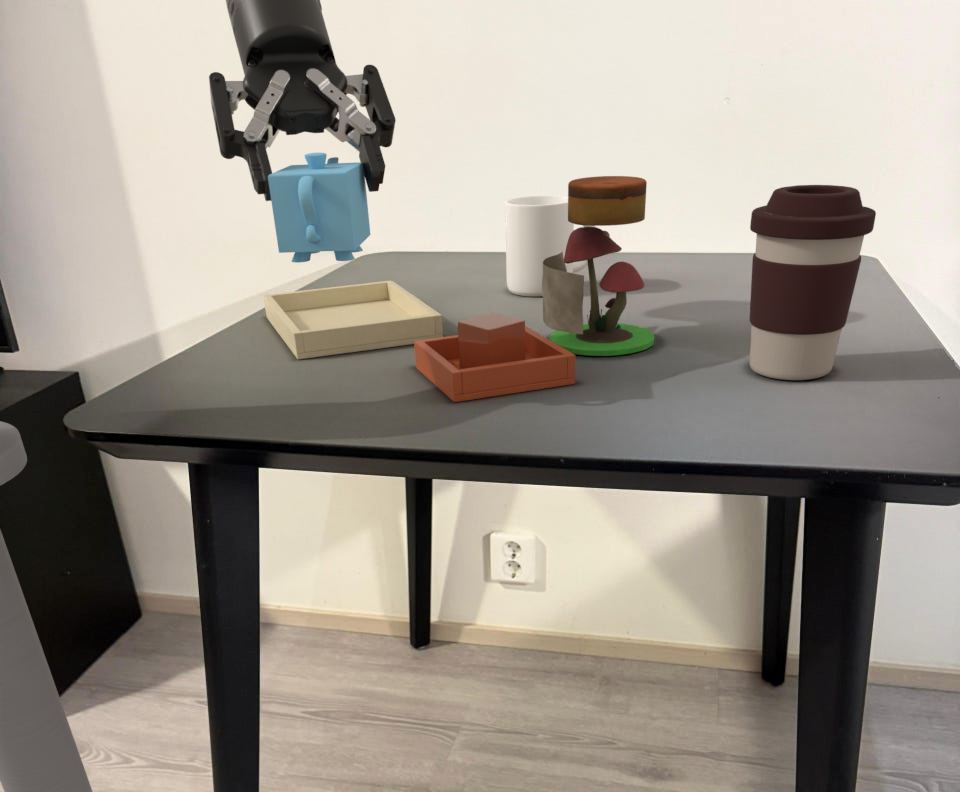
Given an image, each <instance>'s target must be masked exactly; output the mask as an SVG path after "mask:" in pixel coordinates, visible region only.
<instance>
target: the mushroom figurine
mask: <svg viewBox="0 0 960 792" xmlns="http://www.w3.org/2000/svg"><path fill="white" fill-rule="evenodd" d="M647 186H648V185H647V180H646V179H645V178H642V177H638V176H628V175H627V176H626V175H604V176H603V175H602V176H601V175H599V176H588V177H587V176H586V177H580V178H575V179H572V180H570V181H569V182H568V184H567V197H568V221H569V222H570V223H573V224H574V225H577V226H580V227H578V228H576V229H574V231H573V232H572V233H571V234H570V236H569V239H568V242H567V246H566V251H565V256H564V258H563V251H562V252H561V253H560V254H558V255H554V256H551V257H548V258H546V259H545V260H544V261H543V277H542V293H543V296H542V321H543V323H544V325H545V326H546V327H548V328H550V329H552V330H555V331H553V332H552V333H551V335H550V336H549V340H550V341H552V342H554V343H555V344H557V345H559V346H561V347H562V348H564V349H566V350H567V351H569V352H571V353H573V354H574V355H580V356H592V357H610V356H613V357H614V356H624V355H629V354H635V353H639V352H642V351H645V350H647V349H649V348H650V347H651V348H652V346H653V345H654V344H655V333H654V332H653V331H651V330H650V329H648V328H645V327H641V326H639V325H633V324H627V323H619V320H620V317H621V316H622V314H623V312H624V311H625V309H626V306H627V304H628V303H627V302H628V301H627V298H628V297H627V293H628V292H634V291H635V292H636V291H639V290H642V289H644V288H645V282H644V280H643V278H642V276H641V275H640V273H639V272H638V270H637V269H636V267H635V266H634V265H633V264H631V263H629V262H626V261H616V262H615V263H613V264H611V265H610V266H609V267H608V268H607V270H606V271H605V273H604V274H603V276H602V278H601V279H600V281H599V283H597V276H596V268H595V262H594V259H597V258H600V257H603V256H608V255H610V254H614V253H620V252H621V251H622V250H623V249H622V246H620V245H619V244H617V243H616V241H614V240H613V239H612V238H611V235H610V233H609V232H608V231H607V230H603V229H601V228H600V227H603V226H605V227H606V226H609V227H611V226H623V225H624V226H625V225H631V224H636V223H641V222H642V221H644V220H645V218H646V202H647ZM583 225H585V226H595V227H583ZM599 226H600V227H599ZM585 260H587V262H588V265H587V270H588V280H589V292H590V293H589V294H590V310H589V314H587V315H586V317H587V323H584V314H583V313H584V312H583V311H584V309H583V305H584V295H585V275H582V274H578V273H569V272H567V269H566V265H565V263H567V264H569V263H573V262H579V261H585ZM598 286H599V287H600V289H601V290H602V291H605V292H609V293H612V294H615V297H612V298H610V299H609V300H607V302H606V303H605V305H604V307H605V308H607V309H608V310H606V311H605V313H604V314H603V309H602V308H600V301H599V300H600V299H599V291H598Z"/></svg>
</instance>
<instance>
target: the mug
mask: <svg viewBox="0 0 960 792" xmlns="http://www.w3.org/2000/svg"><path fill="white" fill-rule="evenodd" d="M504 214H505V218H504V219H505V221H504V222H505V263H506V264H505V267H506V268H505V269H506V270H505V271H506V273H505V274H506V286H507V289H508V291H509V292H510V293H511V294H513V295H517V296H522V297H531V298H532V297H533V298H536V297H537V298H538V297H539V298H540V297H542V298H543V293H542V277H543V261H544V260H545V259H546V258H548V257H551V256H554V255H558V254H560V253H561V252H562V251H563V258H564V256H565V251H566V246H567V242H568V239H569V236H570V234H571V233H572V232H573V231H574V230H575V228H574V227H575V226H574V225H575V224H573V223H570V222H569V221H568V196H564V195H563V196H562V195H527V196H526V195H525V196H518V197H513V198H510V199H507V200H505V202H504ZM582 227H596V226H585V225H582ZM565 265H566V269H567V272H569V273H574V274H576V273H577V272H578V273H579V272H580V271H582V270H584V269H585V268H587V267H588V262H587V260H585V261H579V262H573V263H569V264H567V263H565Z"/></svg>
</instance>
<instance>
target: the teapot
mask: <svg viewBox="0 0 960 792" xmlns="http://www.w3.org/2000/svg"><path fill="white" fill-rule="evenodd" d="M303 156H304V159H305V161H306V163H307V164H291V165H288V166H285V167H282V168H281V169H279V170H277V171H274V172H272V174H270V175H268V182H269V189H270V195H271V201H270V202H271V208H272V216H273V222H274V229H275V236H276V241H277V248H278V249H277V250H278V253H279V254H280V253H281V254H283V253H284V254H285V253H287V254H288V253H294V254H293V257H292V259H291V263H297V264H298V263H307V262H309V261H311V258H312V257H311V256H312V254H313V255H314V254H318V253H320V252H333V254H334V257H335V261H337V262H348V261H354V260H355V256H354V254H353V253H360V252H363V251H364V249H363V248H362V246H361V245H362V244H363V243H364V242H365V241H366V240H367V239H368V238H369V237H370V236H371V228H370V227H371V225H370V215H369V206H368V196H367V183H366V179H365V175H364V165H363V163H362V162H339V157H337V156H334V157H333V156H332V157H329V158H328V159H327V157H328V156H327V153H325V152H309V153H306V154H304V155H303ZM326 162H327V163H326Z"/></svg>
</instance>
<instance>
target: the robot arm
mask: <svg viewBox="0 0 960 792" xmlns="http://www.w3.org/2000/svg"><path fill="white" fill-rule="evenodd" d="M225 5H226V9H227V13H228V17H229V21H230V25H231V29H232V33H233V36H234V40H235V44H236V48H237V51H238V55H239V59H240V63H241V66H242V70H243V74H244V77H243V80H226V78H225V75H224V74H222V73H221V72H218V71H213V72H210V74H209V76H208V81H209V82H208V83H209V96H210V104H211V111H212V116H213V120H214V121H213V122H214V127H215V130H216V131H215V132H216V137H217V142H218V148H219V153H220V155H221V157H223V158H224V159H226V160H232V159H234V158H235V157H239V158H242V159H243V160H245V162H246V163H247V166H248V169H249V174H250V178H251V182H252V186H253V190H254V191H255V192H256V193H257V195H263V197H264V200H265V202H271V195H270V189H269V182H268V175H270V174H272V173H273V171H272V167H271V163H270V159H269V156H268V155H269V154H268V152H267V148H271V147H272V145H273V143H274V141H275V140H276V138H277V137H278V135H279V133H280V132H284V133H285V135H286V136H294V135H295V136H296V135H299V134H302V133H312V134H323V133H325V130H326V131H327V132H329V133H330V134H331V136H333V137H334V138H336V140H338V141H339V142H341V143H345V142H346V143H348V144H349V145H350V146H351V147H352V148H354V149H355V150H356V151H358V152H359V153H358V158H359V161H360V162H362V163H363V165H364V175H365V184H366V187H367V189H368V192H369V193H370V192H371V193H372V192H379V189H380V185H383V183H384V177H385V173H386V172H385V171H386V162H385V160H384V157H383V153H382V148H390V147H391V146H392V144H393V139H394V132H395V128H396V127H395V126H396V121H397V120H396V116H395V114H394V111H393V109H392V106H391V103H390V100H389V97H388V95H387V94H388V93H387V92H386V89H385V85H384V83H383V81H382V77H381V75H380V72H379V69H378V68H377V67H376V66H375V65H373V64H366V65H365V66H364V67H363V72H362V74H351V75H346V74H345V73H344V71H342V70H341V69H340V68H339V66H338V64H337V62H336V57H335V54H334V50H333V47H332V44H331V40H330V36H329V32H328V29H327V26H326V22H325V19H324V15H323V8H322V3H321V0H225ZM348 95H352V96H353V97H355V99H356V101H357V102H358V103H359V107H362V108H365V110H366V112H367V116H368V117H367V116H366V115H364V114H363V113H362V112H361V111H360V110H359V109H358V107H357V104H356V102H355V101H354V100H353V99H352V98H350V97H349V96H348ZM241 101H244V102H245V103H246V104H247V105H248V106H249V107H251V109H252V110H253V111H254V112H253V115H252V117H251V119H250V121H249V123H248V125H247V127H246V128H245V130H244V131H243V130H238V129H235V125H234V120H233V119H234V118H233V115H234V114H235V112H236V111H237V110H238V109H239V103H240V102H241ZM337 115H339V117H337ZM381 147H382V148H381Z"/></svg>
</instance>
